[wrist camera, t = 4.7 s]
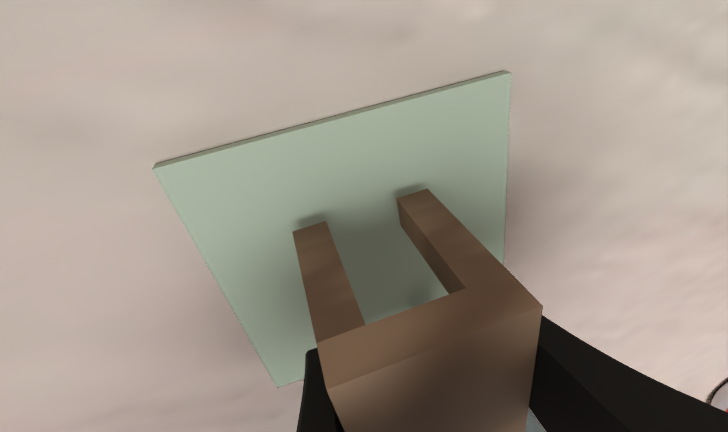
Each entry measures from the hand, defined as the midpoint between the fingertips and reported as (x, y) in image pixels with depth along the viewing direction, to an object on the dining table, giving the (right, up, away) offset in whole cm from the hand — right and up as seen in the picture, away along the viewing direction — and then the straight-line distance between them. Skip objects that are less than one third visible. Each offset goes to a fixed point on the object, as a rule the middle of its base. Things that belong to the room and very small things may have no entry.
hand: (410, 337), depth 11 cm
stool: (-1, +1, +3) cm, 3 cm away
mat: (-1, +2, +4) cm, 5 cm away
